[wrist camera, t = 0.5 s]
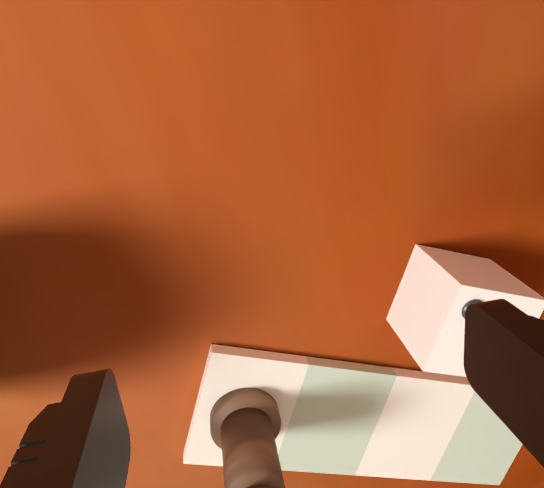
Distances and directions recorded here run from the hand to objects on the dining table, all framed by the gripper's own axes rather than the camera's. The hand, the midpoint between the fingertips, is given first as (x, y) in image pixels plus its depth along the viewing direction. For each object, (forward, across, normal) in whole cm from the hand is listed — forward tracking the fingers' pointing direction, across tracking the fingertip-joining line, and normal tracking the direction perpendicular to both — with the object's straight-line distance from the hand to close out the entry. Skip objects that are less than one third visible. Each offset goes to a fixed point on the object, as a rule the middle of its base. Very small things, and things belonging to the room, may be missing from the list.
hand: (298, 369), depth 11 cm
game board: (+20, -8, +20) cm, 30 cm away
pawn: (+19, +1, +17) cm, 26 cm away
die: (+20, -14, +10) cm, 26 cm away
